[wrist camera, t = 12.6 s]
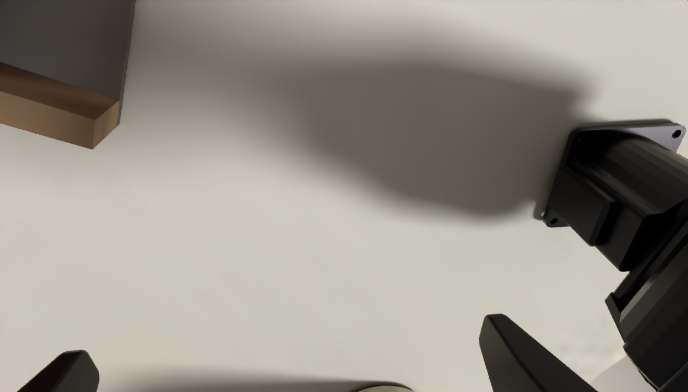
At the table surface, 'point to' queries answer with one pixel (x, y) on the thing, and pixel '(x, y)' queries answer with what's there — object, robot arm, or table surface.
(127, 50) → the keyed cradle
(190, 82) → the table surface
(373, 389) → the travel mug
